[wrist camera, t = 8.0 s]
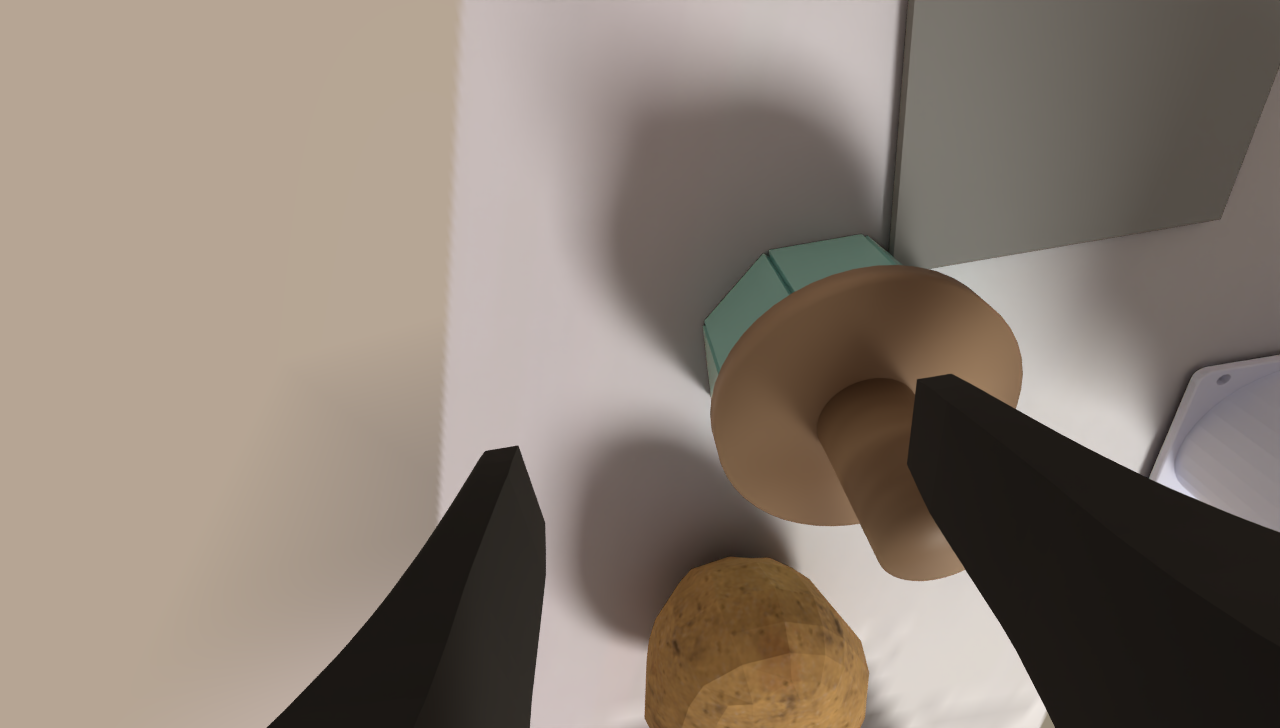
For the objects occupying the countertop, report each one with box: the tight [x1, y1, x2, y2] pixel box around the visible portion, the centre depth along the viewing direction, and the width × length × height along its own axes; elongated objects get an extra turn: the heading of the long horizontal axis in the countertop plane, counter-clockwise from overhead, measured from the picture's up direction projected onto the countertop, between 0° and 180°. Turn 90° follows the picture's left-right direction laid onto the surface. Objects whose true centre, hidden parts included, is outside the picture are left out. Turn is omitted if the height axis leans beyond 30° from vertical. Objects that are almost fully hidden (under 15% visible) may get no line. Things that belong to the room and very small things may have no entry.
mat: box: [889, 0, 1280, 269], centre depth 18 cm, size 11×9×1 cm
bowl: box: [703, 234, 902, 398], centre depth 21 cm, size 8×8×4 cm
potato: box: [645, 556, 869, 728], centre depth 27 cm, size 10×14×8 cm
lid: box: [710, 265, 1023, 581], centre depth 17 cm, size 9×9×6 cm
